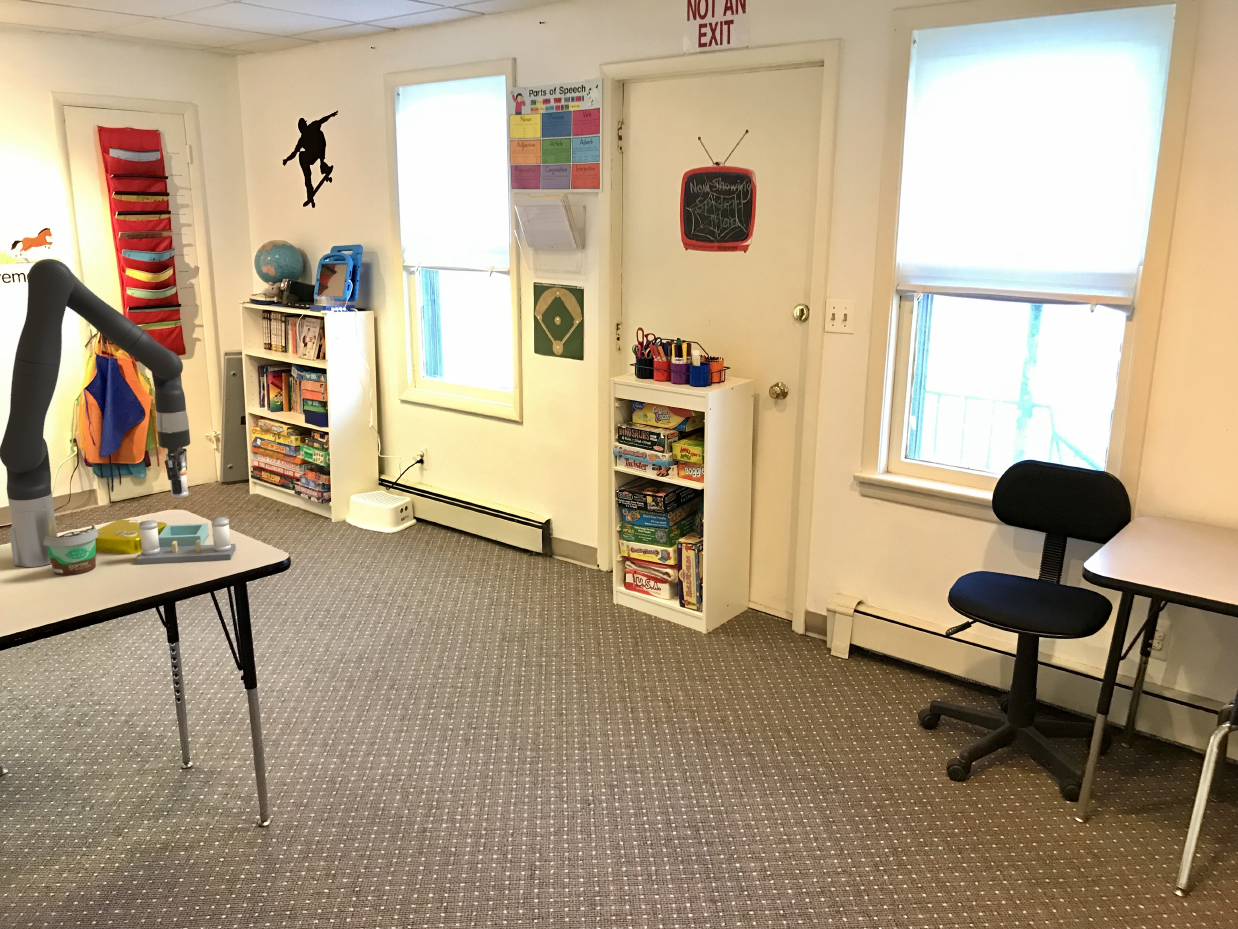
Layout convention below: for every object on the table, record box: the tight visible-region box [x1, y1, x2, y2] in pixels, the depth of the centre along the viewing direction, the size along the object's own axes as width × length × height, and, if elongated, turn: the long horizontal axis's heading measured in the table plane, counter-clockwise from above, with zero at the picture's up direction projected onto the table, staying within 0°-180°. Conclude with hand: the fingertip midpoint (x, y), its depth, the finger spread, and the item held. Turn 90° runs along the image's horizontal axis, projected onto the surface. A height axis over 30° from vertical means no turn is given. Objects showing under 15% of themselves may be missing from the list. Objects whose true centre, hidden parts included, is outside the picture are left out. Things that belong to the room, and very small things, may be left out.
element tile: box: [95, 519, 167, 555], centre depth 249 cm, size 15×15×5 cm
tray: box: [158, 523, 210, 547], centre depth 250 cm, size 10×10×4 cm
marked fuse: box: [169, 462, 189, 499], centre depth 246 cm, size 4×4×9 cm
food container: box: [43, 524, 98, 577], centre depth 227 cm, size 12×6×10 cm, turn 147°
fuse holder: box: [136, 516, 237, 565], centre depth 239 cm, size 22×8×10 cm, turn 103°
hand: (179, 491), depth 246 cm, fingers closed on marked fuse, 4 cm apart
